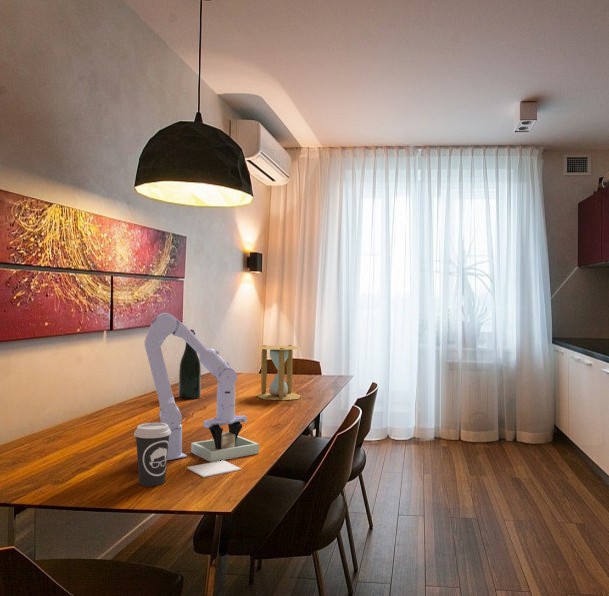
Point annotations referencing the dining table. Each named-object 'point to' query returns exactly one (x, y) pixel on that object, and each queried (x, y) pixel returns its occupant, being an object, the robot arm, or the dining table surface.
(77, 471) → the dining table surface
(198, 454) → the pale grey-green open frame
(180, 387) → the dark green wine bottle
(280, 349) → the hourglass
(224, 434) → the ash block
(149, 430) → the coffee cup
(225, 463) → the white mat
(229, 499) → the dining table surface
